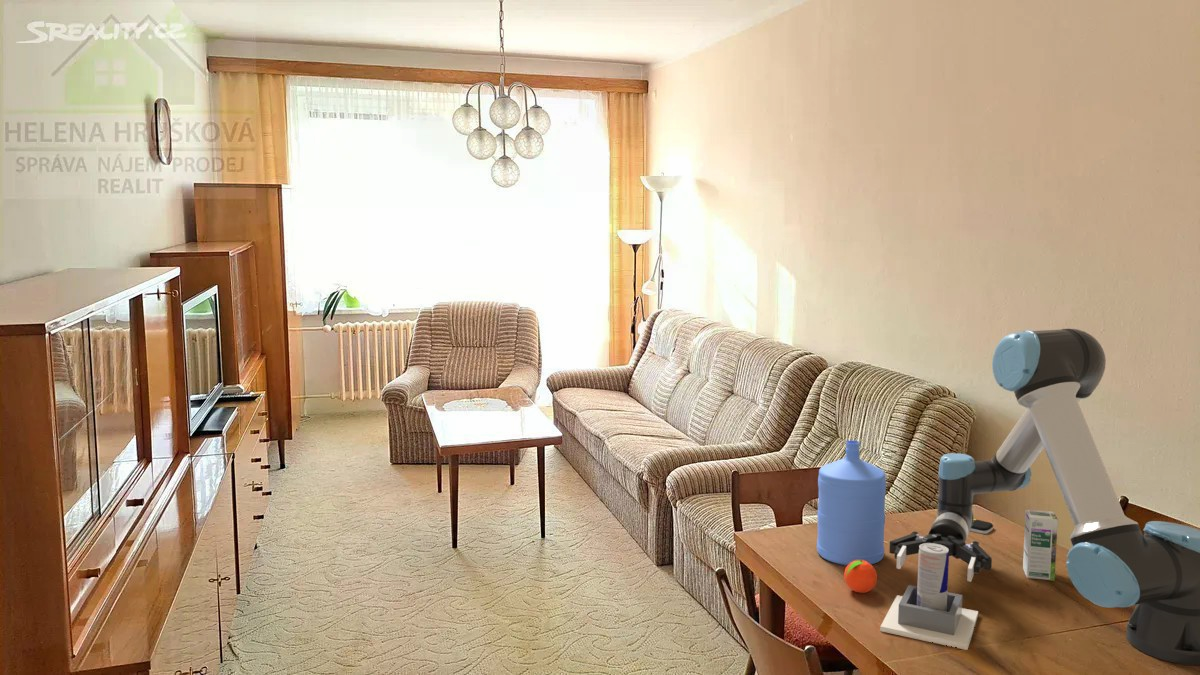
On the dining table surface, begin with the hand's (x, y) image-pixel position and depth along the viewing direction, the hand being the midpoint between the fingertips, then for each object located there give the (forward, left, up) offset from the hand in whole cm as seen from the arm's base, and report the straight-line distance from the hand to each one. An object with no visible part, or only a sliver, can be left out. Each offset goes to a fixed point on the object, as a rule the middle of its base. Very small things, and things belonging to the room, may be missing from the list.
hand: (933, 568), depth 175 cm
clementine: (+16, +4, -10) cm, 19 cm away
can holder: (-2, +3, -10) cm, 11 cm away
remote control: (+30, -50, -11) cm, 59 cm away
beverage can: (-2, +3, -9) cm, 10 cm away
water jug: (+32, -10, -10) cm, 35 cm away
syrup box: (+1, -37, -10) cm, 38 cm away
